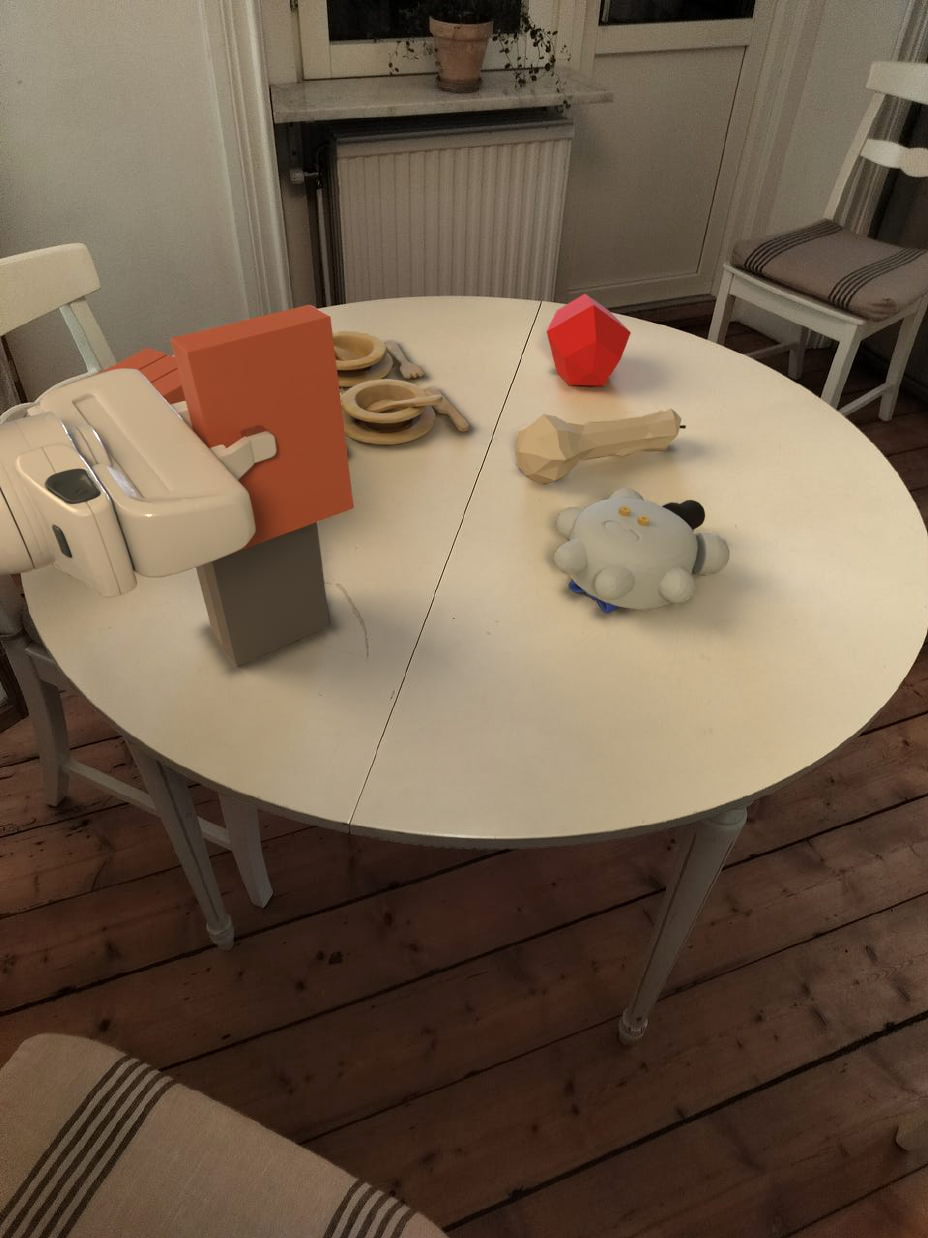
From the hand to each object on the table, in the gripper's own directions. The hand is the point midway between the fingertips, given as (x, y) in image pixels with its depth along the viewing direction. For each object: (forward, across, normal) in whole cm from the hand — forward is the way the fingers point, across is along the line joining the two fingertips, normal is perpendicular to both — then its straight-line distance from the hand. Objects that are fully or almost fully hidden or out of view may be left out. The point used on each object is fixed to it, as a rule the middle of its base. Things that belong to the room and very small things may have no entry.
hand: (257, 425), depth 58 cm
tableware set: (+34, -45, -28) cm, 63 cm away
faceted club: (+50, -13, -28) cm, 59 cm away
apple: (+64, -33, -28) cm, 77 cm away
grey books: (+2, -9, -28) cm, 29 cm away
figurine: (+38, +5, -28) cm, 48 cm away
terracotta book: (+1, +1, -8) cm, 8 cm away
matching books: (+3, -37, -28) cm, 47 cm away
